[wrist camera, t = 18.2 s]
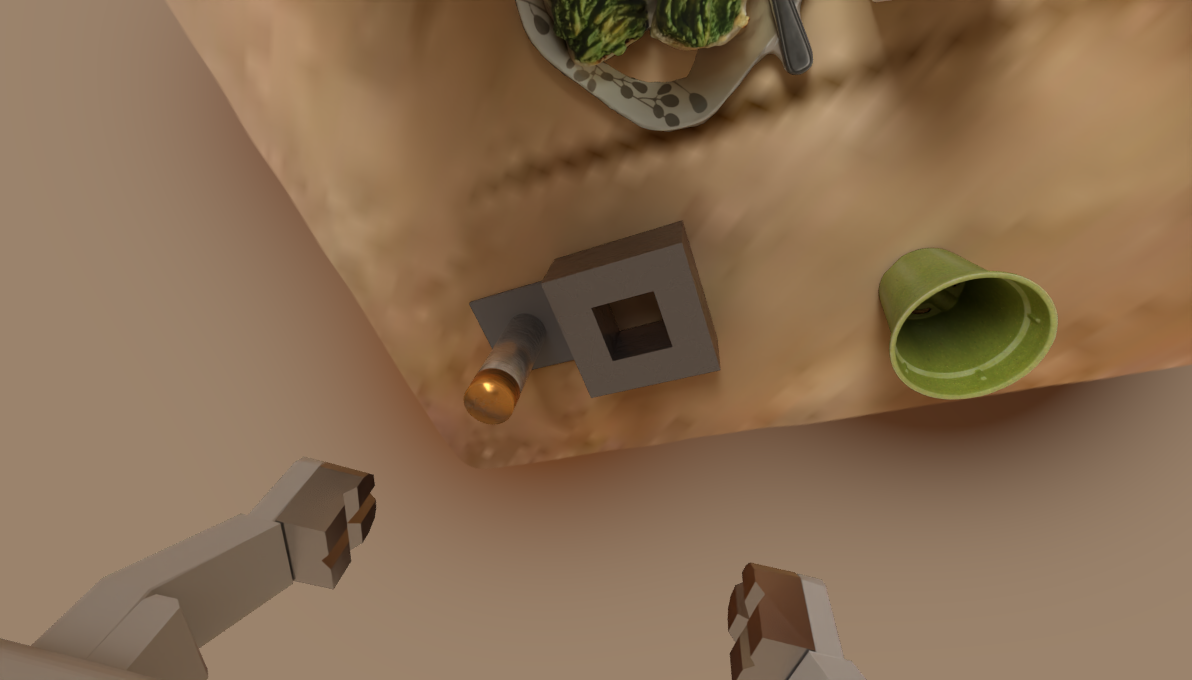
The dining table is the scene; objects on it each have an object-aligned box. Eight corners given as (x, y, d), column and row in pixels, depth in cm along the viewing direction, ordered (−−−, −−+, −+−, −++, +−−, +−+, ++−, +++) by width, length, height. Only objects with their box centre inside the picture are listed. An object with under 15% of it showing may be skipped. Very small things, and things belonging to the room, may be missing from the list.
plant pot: (988, 325, 42) (1051, 388, 35) (859, 346, 45) (893, 409, 38) (992, 212, 38) (1065, 257, 31) (850, 243, 41) (886, 291, 33)
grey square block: (554, 259, 45) (540, 283, 41) (682, 220, 42) (681, 242, 37) (599, 365, 50) (591, 398, 45) (717, 338, 46) (720, 370, 42)
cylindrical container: (505, 343, 50) (462, 418, 40) (508, 309, 48) (464, 378, 38) (544, 352, 49) (510, 429, 40) (549, 318, 47) (514, 390, 38)
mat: (470, 301, 48) (468, 303, 48) (550, 278, 46) (549, 280, 46) (507, 373, 52) (506, 375, 51) (583, 355, 49) (583, 357, 49)
